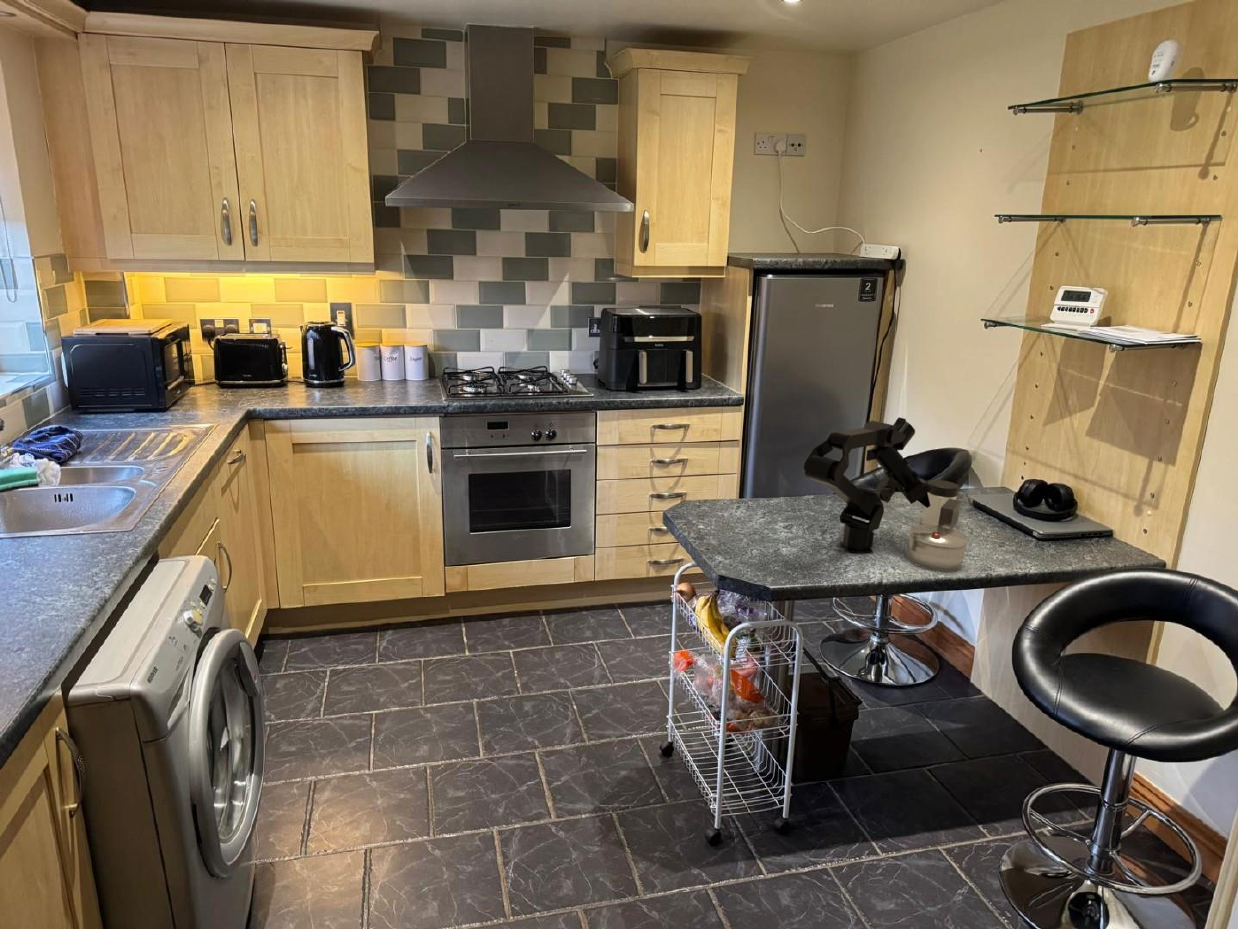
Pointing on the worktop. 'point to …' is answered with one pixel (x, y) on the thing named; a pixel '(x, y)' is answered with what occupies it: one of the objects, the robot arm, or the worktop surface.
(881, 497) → the robot arm
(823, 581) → the worktop surface
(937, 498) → the jar
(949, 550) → the cooker pot
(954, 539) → the cooker lid
